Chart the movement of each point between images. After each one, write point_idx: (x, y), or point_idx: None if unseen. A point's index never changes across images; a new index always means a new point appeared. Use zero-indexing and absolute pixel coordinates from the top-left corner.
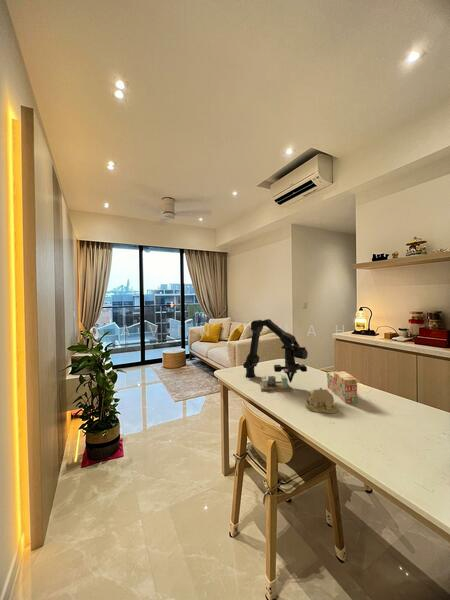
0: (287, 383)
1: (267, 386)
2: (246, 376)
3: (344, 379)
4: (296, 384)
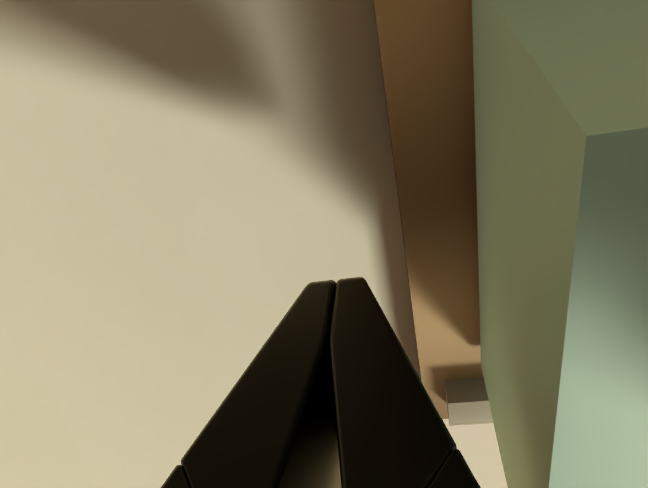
0: (523, 21)
1: None
2: None
3: None
4: (197, 349)
